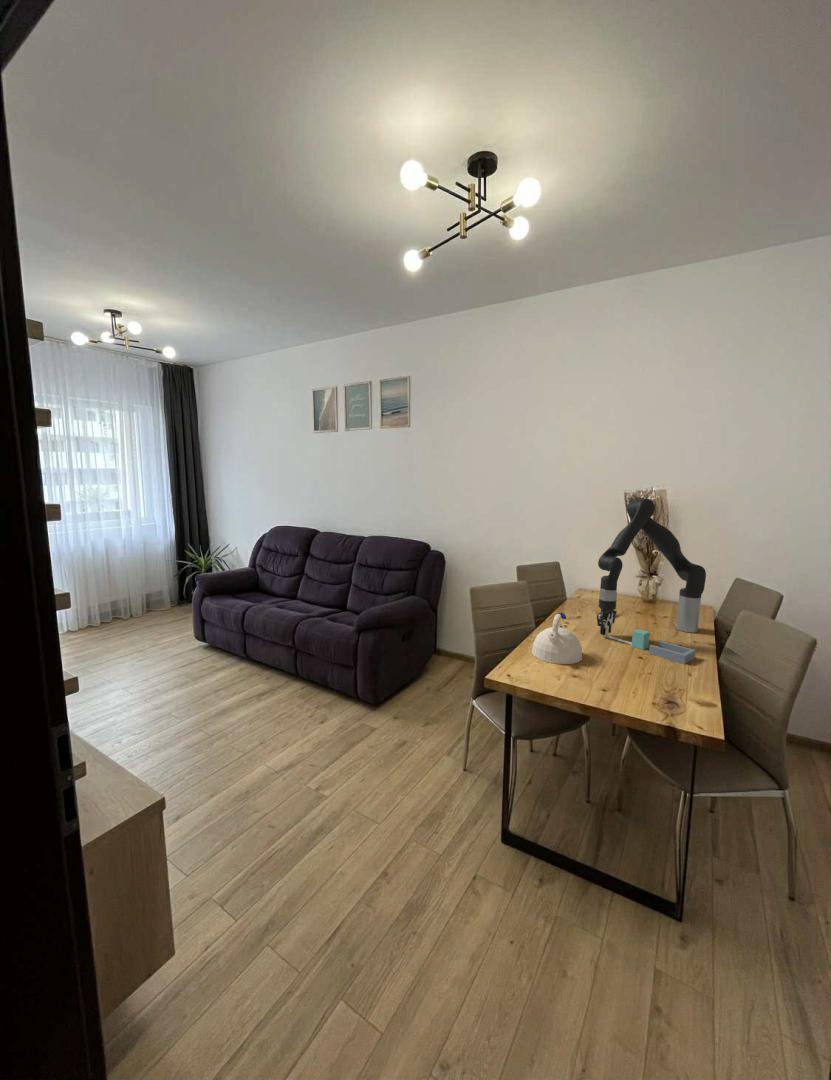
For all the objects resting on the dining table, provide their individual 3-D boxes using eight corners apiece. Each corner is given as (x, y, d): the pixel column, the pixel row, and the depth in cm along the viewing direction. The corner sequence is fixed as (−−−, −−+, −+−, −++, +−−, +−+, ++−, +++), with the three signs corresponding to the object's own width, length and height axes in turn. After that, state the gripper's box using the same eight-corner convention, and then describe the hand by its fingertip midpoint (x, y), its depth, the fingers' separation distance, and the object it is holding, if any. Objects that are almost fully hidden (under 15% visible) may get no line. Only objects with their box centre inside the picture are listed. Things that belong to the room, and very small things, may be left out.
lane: (659, 648, 197) (660, 640, 196) (694, 658, 186) (695, 650, 185) (648, 653, 190) (649, 645, 190) (684, 664, 180) (685, 655, 179)
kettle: (525, 658, 185) (527, 615, 182) (539, 642, 202) (541, 604, 200) (576, 669, 174) (578, 624, 172) (586, 652, 192) (589, 611, 189)
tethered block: (605, 634, 214) (606, 620, 213) (648, 647, 198) (649, 632, 197) (599, 636, 211) (600, 622, 210) (642, 649, 195) (644, 634, 194)
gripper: (608, 594, 216) (605, 628, 218) (592, 599, 207) (589, 634, 209) (623, 597, 210) (620, 632, 212) (607, 602, 201) (605, 639, 204)
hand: (605, 633), depth 211 cm, fingers open, 4 cm apart
